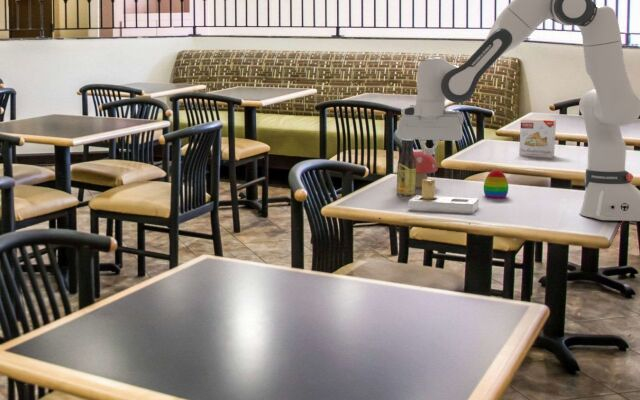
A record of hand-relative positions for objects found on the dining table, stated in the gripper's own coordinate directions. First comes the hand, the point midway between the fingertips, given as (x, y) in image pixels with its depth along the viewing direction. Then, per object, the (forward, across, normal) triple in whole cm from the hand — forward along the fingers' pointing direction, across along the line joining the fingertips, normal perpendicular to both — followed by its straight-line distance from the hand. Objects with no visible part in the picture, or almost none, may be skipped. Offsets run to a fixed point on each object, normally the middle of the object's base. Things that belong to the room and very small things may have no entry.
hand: (429, 154), depth 291 cm
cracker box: (+17, -24, -117) cm, 121 cm away
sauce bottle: (+17, +11, -18) cm, 27 cm away
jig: (+17, -5, 0) cm, 18 cm away
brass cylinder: (+17, 0, 0) cm, 17 cm away
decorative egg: (+17, -18, -26) cm, 36 cm away
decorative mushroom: (+17, +10, -33) cm, 39 cm away
